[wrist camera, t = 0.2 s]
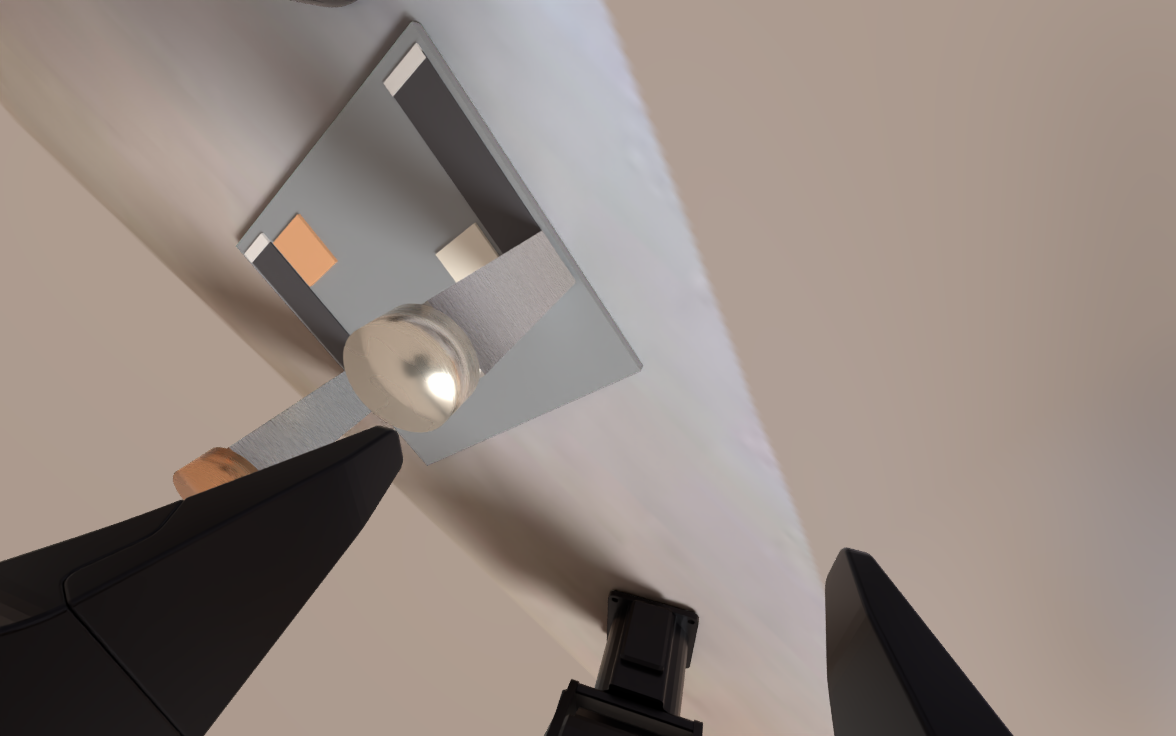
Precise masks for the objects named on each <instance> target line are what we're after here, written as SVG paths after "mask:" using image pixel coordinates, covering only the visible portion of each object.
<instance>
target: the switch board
mask: <svg viewBox="0 0 1176 736" xmlns="http://www.w3.org/2000/svg"><path fill="white" fill-rule="evenodd" d="M542 230H543V232H544V233H545V235H546V236H547V238H548V239H549V241H550V242H551V244H552V245H553V247H554V248H555V250H556V252H557V253H558V255H559V256H560V258H561V259H562V261H563V262H564V264H565V265H566V267H567V268H568V270H569V271H570V273H571V274H572V276H573V277H574V279H575V280H576V283H575V284H574V285H573V286H572V287H571V288H570V289H569V290H568V291H567V292H566V293H565V294H564V295H563V296H562V297H561V298H560V299H559V300H558V301H557V302H556V303H555V304H554V305H553V306H552V307H551V308H550V309H549V310H548V311H547V312H546V313H545V314H544V315H543V316H542V318H541V319H540V320H539V321H538V322H537V323H536V324H535V325H534V326H533V327H532V328H531V329H530V330H529V331H528V332H527V333H526V334H525V335H524V336H523V337H522V338H521V339H520V340H519V341H518V342H517V343H516V344H515V345H514V346H513V347H512V348H511V349H510V350H509V351H508V352H507V353H506V354H505V355H504V356H503V357H502V358H501V359H500V360H499V361H498V362H497V363H496V364H495V366H494V367H493V368H492V369H491V370H490V371H489V372H488V373H487V374H486V375H485V376H483V377H481V378H479V381H478V385H477V387H476V389H475V391H474V392H473V393H472V395H471V396H470V397H469V398H468V399H467V400H466V401H465V402H464V403H463V404H462V405H461V406H460V407H459V408H458V409H457V410H456V411H455V412H454V413H453V414H452V415H451V417H450V418H449V419H448V420H447V421H446V422H445V423H444V424H443V425H442V426H440V427H439V428H437V429H435V430H433V431H429V432H423V433H417V432H409V431H405V430H402V429H399V428H397V427H394V426H393V427H394V428H395V429H396V431H397V432H398V433H399V434H400V435H401V436H402V437H403V439H404V440H405V441H406V442H407V443H408V444H409V446H410V447H411V448H412V449H413V450H414V451H415V452H416V454H417V455H418V456H419V457H420V458H421V459H422V460H423V462H424V463H425V464H426V465H427V466H428V465H430V464H432V463H435V462H437V461H439V460H441V459H444V458H446V457H448V456H450V455H453V454H455V453H457V452H459V451H462V450H464V449H466V448H469V447H471V446H473V445H475V444H478V443H480V442H482V441H484V440H487V439H489V438H491V437H493V436H496V435H498V434H500V433H502V432H505V431H507V430H509V429H511V428H514V427H516V426H518V425H520V424H523V423H525V422H527V421H529V420H532V419H534V418H536V417H539V416H541V415H543V414H545V413H548V412H550V411H552V410H554V409H557V408H559V407H561V406H563V405H566V404H568V403H570V402H572V401H575V400H577V399H579V398H581V397H584V396H586V395H588V394H590V393H593V392H595V391H597V390H600V389H602V388H604V387H606V386H609V385H611V384H613V383H615V382H618V381H620V380H622V379H624V378H627V377H629V376H631V375H633V374H636V373H638V372H640V371H641V369H642V367H643V365H642V363H641V362H640V360H639V359H638V357H637V356H636V354H635V353H634V351H633V350H632V348H631V347H630V345H629V343H628V342H627V340H626V339H625V337H624V336H623V334H622V333H621V331H620V330H619V328H618V327H617V325H616V323H615V322H614V320H613V319H612V317H611V316H610V314H609V313H608V311H607V310H606V308H605V307H604V305H603V303H602V302H601V300H600V299H599V297H598V296H597V294H596V293H595V291H594V290H593V288H592V287H591V285H590V283H589V282H588V280H587V279H586V277H585V276H584V274H583V273H582V271H581V270H580V268H579V267H578V265H577V264H576V262H575V260H574V259H573V257H572V256H571V254H570V253H569V251H568V250H567V248H566V247H565V245H564V244H563V242H562V240H561V239H560V237H559V236H558V234H557V233H556V231H555V230H554V228H553V227H552V225H551V224H550V222H549V220H548V219H547V217H546V216H545V214H544V213H543V211H542V210H541V208H540V207H539V205H538V204H537V202H536V201H535V199H534V197H533V196H532V194H531V193H530V191H529V190H528V188H527V187H526V185H525V184H524V182H523V181H522V179H521V177H520V176H519V174H518V173H517V171H516V170H515V168H514V167H513V165H512V164H511V162H510V161H509V159H508V157H507V156H506V154H505V153H504V151H503V150H502V148H501V147H500V145H499V144H498V142H497V141H496V139H495V137H494V136H493V134H492V133H491V131H490V130H489V128H488V127H487V125H486V124H485V122H484V121H483V119H482V118H481V116H480V114H479V113H478V111H477V110H476V108H475V107H474V105H473V104H472V102H471V101H470V99H469V98H468V96H467V94H466V93H465V91H464V90H463V88H462V87H461V85H460V84H459V82H458V81H457V79H456V78H455V76H454V74H453V73H452V71H451V70H450V68H449V67H448V65H447V64H446V62H445V61H444V59H443V58H442V56H441V54H440V53H439V51H438V50H437V48H436V47H435V45H434V44H433V42H432V41H431V39H430V38H429V36H428V35H427V33H426V31H425V30H424V28H423V27H422V25H421V24H420V23H416V22H412V21H411V23H410V24H409V25H408V26H407V28H406V29H405V30H404V32H403V33H402V34H401V35H400V37H399V38H398V39H397V41H396V42H395V43H394V44H393V46H392V47H391V48H390V50H389V51H388V52H387V53H386V55H385V56H384V57H383V58H382V60H381V61H380V62H379V64H378V65H377V66H376V67H375V69H374V70H373V71H372V73H371V74H370V75H369V76H368V78H367V79H366V80H365V81H364V83H363V84H362V85H361V87H360V88H359V89H358V90H357V92H356V93H355V94H354V96H353V97H352V98H351V99H350V101H349V102H348V103H347V104H346V106H345V107H344V108H343V110H342V111H341V112H340V113H339V115H338V116H337V117H336V119H335V120H334V121H333V122H332V124H331V125H330V126H329V128H328V129H327V130H326V131H325V133H324V134H323V135H322V136H321V138H320V139H319V140H318V142H317V143H316V144H315V145H314V147H313V148H312V149H311V151H310V152H309V153H308V154H307V156H306V157H305V158H304V159H303V161H302V162H301V163H300V165H299V166H298V167H297V168H296V170H295V171H294V172H293V174H292V175H291V176H290V177H289V179H288V180H287V181H286V182H285V184H284V185H283V186H282V188H281V189H280V190H279V191H278V193H277V194H276V195H275V197H274V198H273V199H272V200H271V202H270V203H269V204H268V205H267V207H266V208H265V209H264V211H263V212H262V213H261V214H260V216H259V217H258V218H257V220H256V221H255V222H254V223H253V225H252V226H251V227H250V229H249V230H248V231H247V232H246V234H245V235H244V236H243V237H242V239H241V240H240V241H239V243H238V244H237V245H236V247H237V248H238V249H239V250H240V252H241V253H242V254H243V255H244V256H245V257H246V258H247V260H248V261H249V262H250V263H251V264H252V265H253V266H254V268H255V269H256V270H257V271H258V272H259V273H260V275H261V276H262V277H263V278H264V279H265V280H266V281H267V283H268V284H269V285H270V286H271V287H272V288H273V289H274V291H275V292H276V293H277V294H278V295H279V296H280V297H281V299H282V300H283V301H284V302H285V303H286V304H287V306H288V307H289V308H290V309H291V310H292V311H293V312H294V314H295V315H296V316H297V317H298V318H299V319H300V320H301V322H302V323H303V324H304V325H305V326H306V327H307V328H308V330H309V331H310V332H311V333H312V334H313V335H314V336H315V338H316V339H317V340H318V341H319V342H320V343H321V345H322V346H323V347H324V348H325V349H326V350H327V351H328V353H329V354H330V355H331V356H332V357H333V358H334V359H335V361H336V362H337V363H338V364H339V365H340V366H341V367H342V369H343V370H344V371H345V368H344V362H343V351H344V346H345V344H346V341H347V339H348V338H349V336H350V335H351V334H352V333H353V332H354V331H356V330H357V329H359V328H361V327H362V326H364V325H366V324H368V323H369V322H371V321H373V320H375V319H376V318H378V317H380V316H381V315H383V314H385V313H387V312H388V311H390V310H392V309H394V308H395V307H398V306H400V305H404V304H421V305H422V304H423V303H425V302H426V301H427V300H429V299H431V298H432V297H434V296H435V295H437V294H439V293H440V292H442V291H444V290H445V289H447V288H449V287H450V286H452V285H454V284H455V283H457V282H458V281H460V280H462V279H463V278H465V277H467V276H468V275H470V274H472V273H473V272H475V271H476V270H478V269H480V268H481V267H483V266H485V265H486V264H488V263H490V262H491V261H493V260H495V259H496V258H498V257H499V256H501V255H503V254H504V253H506V252H508V251H509V250H511V249H513V248H514V247H516V246H518V245H519V244H521V243H522V242H524V241H526V240H527V239H529V238H531V237H532V236H534V235H536V234H537V233H539V232H541V231H542Z"/></svg>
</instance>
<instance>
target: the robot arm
mask: <svg viewBox="0 0 1176 736" xmlns="http://www.w3.org/2000/svg"><path fill="white" fill-rule="evenodd" d="M402 463H403V455H402V450H401V445H400V440H399V435H398V433H397V431H396V430H394V429H391V428H388V427H384V426H375V427H373V428H370V429H367V430H365V431H362V432H359V433H357V434H354V435H351V436H349V437H346V438H343V439H341V440H338V441H336V442H333V443H330V444H328V445H325V446H322V447H320V448H317V449H314V450H312V451H309V452H306V453H304V454H301V455H298V456H296V457H293V458H290V459H288V460H285V461H283V462H280V463H277V464H275V465H272V466H269V467H267V468H264V469H261V470H259V471H256V472H253V473H251V474H248V475H245V476H243V477H240V478H238V479H235V480H232V481H230V482H227V483H224V484H222V485H219V486H216V487H214V488H211V489H208V490H206V491H203V492H200V493H198V494H195V495H193V496H190V497H187V498H186V499H185V500H179V501H176V502H174V503H171V504H169V505H166V506H163V507H161V508H158V509H155V510H153V511H150V512H147V513H145V514H142V515H139V516H136V517H133V518H131V519H128V520H125V521H123V522H120V523H117V524H114V525H111V526H108V527H105V528H102V529H99V530H96V531H93V532H90V533H87V534H84V535H81V536H78V537H75V538H72V539H69V540H65V541H63V542H60V543H56V544H53V545H50V546H47V547H44V548H41V549H38V550H35V551H32V552H29V553H26V554H23V555H19V556H17V557H13V558H10V559H7V560H4V561H1V562H0V736H204V735H205V734H206V732H207V731H208V730H209V729H210V727H211V726H212V725H213V723H214V722H215V721H216V719H217V718H218V717H219V715H220V714H221V713H222V711H223V710H224V709H225V707H226V706H227V705H228V704H229V702H230V701H231V700H232V698H233V697H234V696H235V695H236V693H237V692H238V691H239V689H240V688H241V687H242V685H243V684H244V683H245V682H246V680H247V679H248V678H249V676H250V675H251V674H252V672H253V671H254V669H256V667H257V666H258V665H259V663H260V662H261V661H262V659H263V658H264V657H265V656H266V654H267V653H268V652H269V650H270V649H271V647H272V646H273V645H274V644H275V642H276V641H277V640H278V639H279V637H280V636H281V635H282V633H283V632H284V631H285V629H286V628H287V627H288V626H289V624H290V623H291V622H292V620H293V619H294V618H295V616H296V615H297V614H298V613H299V611H300V610H301V609H302V607H303V606H304V605H305V603H306V602H307V601H308V599H309V598H310V597H311V595H312V594H313V593H314V592H315V590H316V589H317V588H318V586H319V585H320V584H321V583H322V581H323V580H324V579H325V577H326V576H327V575H328V573H329V572H330V571H331V570H332V568H333V567H334V566H335V564H336V563H337V562H338V560H339V559H340V558H341V556H342V555H343V554H344V552H345V551H346V550H347V549H348V547H349V546H350V545H351V543H352V542H353V541H354V540H355V538H356V537H357V536H358V534H359V533H360V531H361V530H362V529H363V527H364V526H365V524H366V523H367V521H368V520H369V518H370V517H371V515H372V513H373V512H374V510H375V509H376V507H377V505H378V504H379V502H380V501H381V499H382V497H383V496H384V494H385V493H386V491H387V489H388V488H389V486H390V485H391V483H392V481H393V480H394V478H395V477H396V475H397V473H398V472H399V470H400V468H401V466H402ZM825 610H826V658H827V681H828V690H829V699H830V706H831V714H832V721H833V728H834V736H1013V734H1012V733H1011V732H1010V731H1009V729H1008V728H1007V727H1006V726H1005V724H1004V723H1003V722H1002V720H1001V719H1000V718H999V717H998V715H997V714H996V713H995V712H994V710H993V709H992V708H991V707H990V705H989V704H988V703H987V701H986V700H985V699H984V698H983V696H982V695H981V694H980V693H979V691H978V690H977V689H976V687H975V686H974V685H973V684H972V682H971V681H970V680H969V679H968V677H967V676H966V675H965V673H964V672H963V671H962V670H961V669H960V667H959V666H958V665H957V663H956V662H955V661H954V660H953V658H952V657H951V656H950V654H949V653H948V652H947V651H946V649H945V648H944V647H943V646H942V644H941V643H940V642H939V640H938V639H937V638H936V637H935V636H934V634H933V633H932V632H931V630H930V629H929V628H928V627H927V625H926V624H925V623H924V621H923V620H922V619H921V618H920V616H919V615H918V614H917V613H916V611H915V610H914V609H913V607H912V606H911V605H910V604H909V602H908V601H907V600H906V599H905V597H904V596H903V595H902V593H901V592H900V591H899V590H898V588H897V587H896V586H895V585H894V583H893V582H892V581H891V580H890V578H889V577H888V576H887V574H886V573H885V572H884V571H883V569H882V568H881V567H880V566H879V564H878V563H877V562H876V560H875V559H874V558H873V557H872V556H871V555H870V554H868V553H866V552H862V551H859V550H855V549H850V548H843V549H842V550H841V551H840V552H839V554H838V556H837V558H836V560H835V562H834V564H833V566H832V568H831V570H830V572H829V574H828V576H827V579H826V584H825ZM698 623H699V617H698V615H697V614H695V613H693V612H689V611H686V610H682V609H679V608H675V607H672V606H668V605H665V604H661V603H657V602H654V601H650V600H647V599H643V598H640V597H636V596H633V595H629V594H625V593H622V592H618V591H611V592H610V594H609V597H608V620H607V643H606V647H605V651H604V655H603V658H602V662H601V666H600V670H599V673H598V677H597V681H596V685H595V688H592V687H589V686H586V685H583V684H580V683H579V681H576V680H573V679H571V681H570V683H569V686H568V688H567V689H566V690H563V691H562V694H561V697H560V700H559V703H558V706H557V709H556V712H555V715H554V717H553V719H552V721H551V723H550V725H549V727H548V729H547V731H546V733H545V735H544V736H702V732H703V722H700V721H697V720H694V721H691V720H688V719H685V718H682V717H680V711H681V703H682V694H683V686H684V677H685V669H686V668H689V667H690V662H691V658H692V653H693V648H694V643H695V638H696V633H697V629H698Z"/></svg>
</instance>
